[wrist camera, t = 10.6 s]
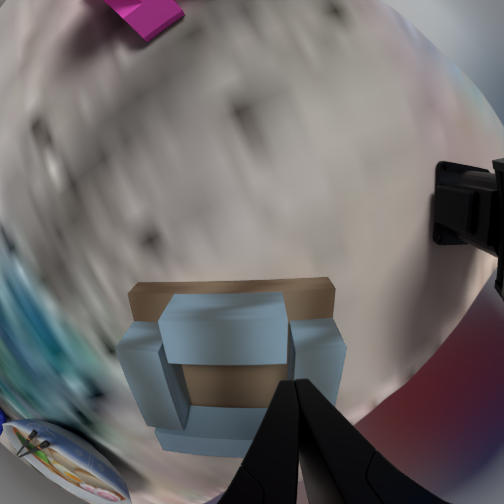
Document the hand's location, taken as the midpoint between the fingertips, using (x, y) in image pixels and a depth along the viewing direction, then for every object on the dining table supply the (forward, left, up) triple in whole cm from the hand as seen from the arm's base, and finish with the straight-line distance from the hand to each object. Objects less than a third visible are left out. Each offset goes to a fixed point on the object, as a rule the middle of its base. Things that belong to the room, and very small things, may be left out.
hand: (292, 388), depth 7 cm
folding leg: (+3, +14, -10) cm, 17 cm away
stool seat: (+3, +8, -12) cm, 15 cm away
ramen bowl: (+30, +30, -12) cm, 44 cm away
